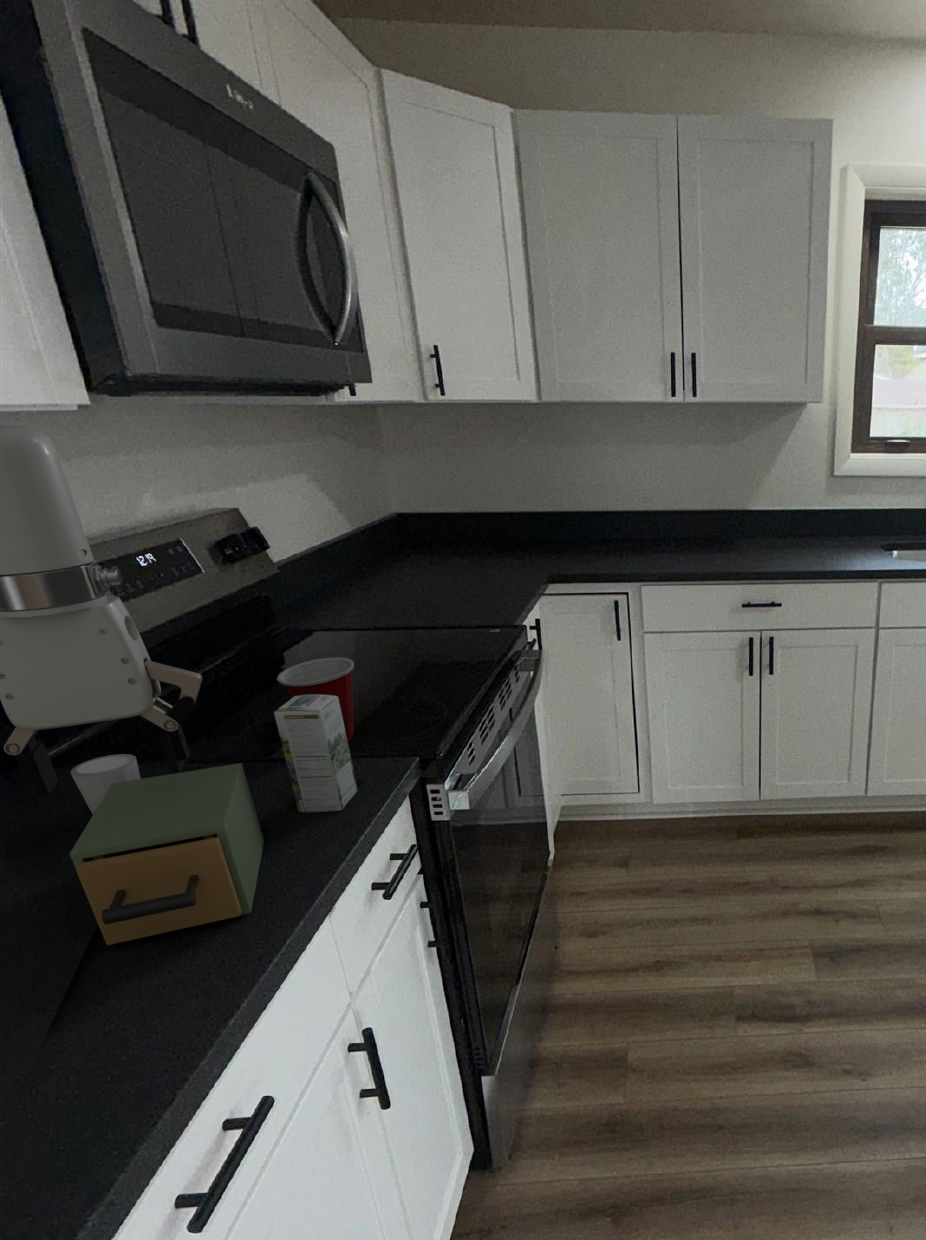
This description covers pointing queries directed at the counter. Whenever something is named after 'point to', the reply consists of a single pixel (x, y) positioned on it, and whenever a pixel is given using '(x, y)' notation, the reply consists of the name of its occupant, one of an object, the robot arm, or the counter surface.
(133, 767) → the white cup
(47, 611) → the robot arm
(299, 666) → the plastic cup
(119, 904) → the drawer
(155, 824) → the cabinet
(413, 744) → the counter surface
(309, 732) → the syrup box
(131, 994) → the counter surface
